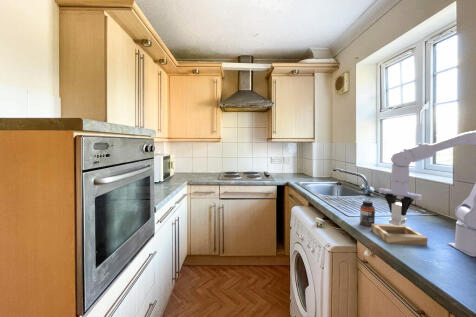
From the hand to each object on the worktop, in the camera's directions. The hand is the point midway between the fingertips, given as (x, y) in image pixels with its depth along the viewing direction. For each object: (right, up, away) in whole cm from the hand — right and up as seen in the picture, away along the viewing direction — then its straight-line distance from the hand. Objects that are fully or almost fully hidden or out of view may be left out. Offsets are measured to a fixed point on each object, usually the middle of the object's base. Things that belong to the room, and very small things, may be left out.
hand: (398, 213), depth 89 cm
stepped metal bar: (0, -4, 0) cm, 4 cm away
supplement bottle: (-4, -9, +15) cm, 18 cm away
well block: (0, -10, +1) cm, 10 cm away
